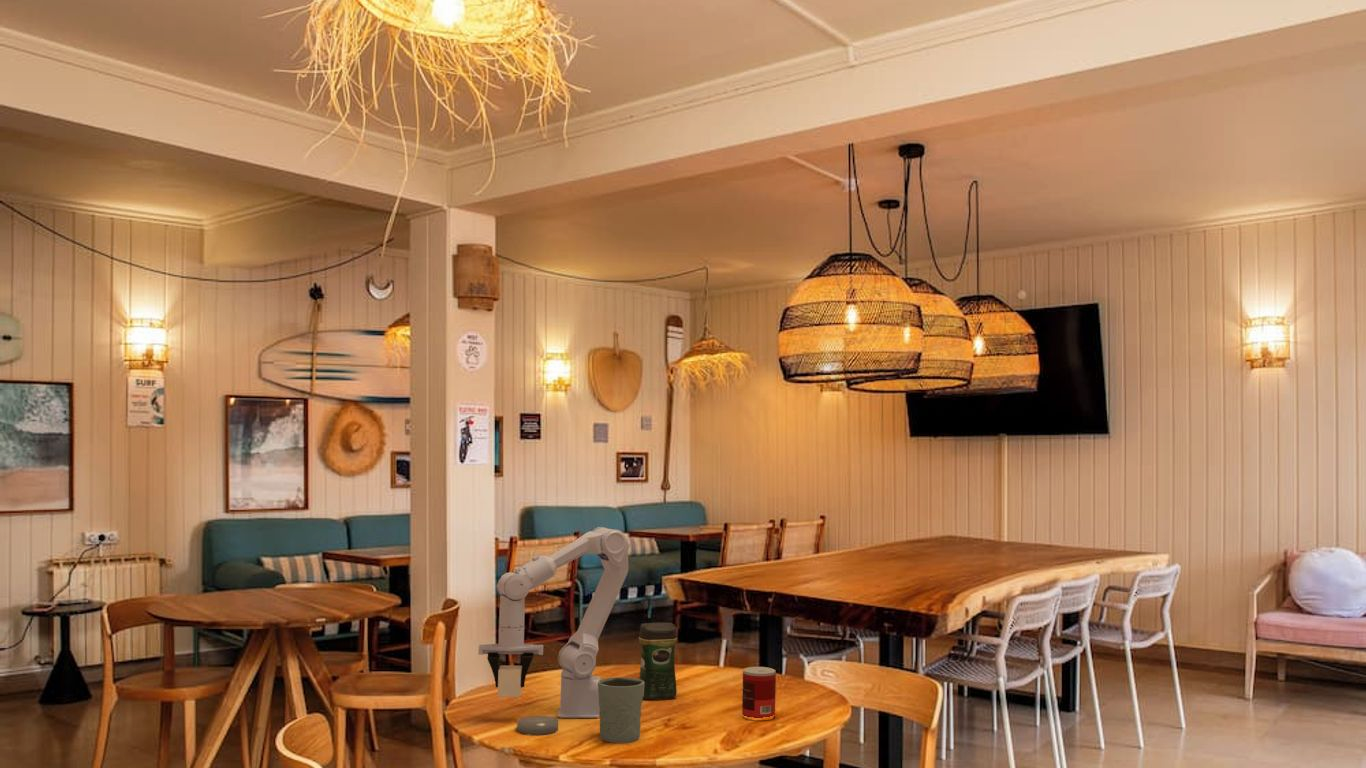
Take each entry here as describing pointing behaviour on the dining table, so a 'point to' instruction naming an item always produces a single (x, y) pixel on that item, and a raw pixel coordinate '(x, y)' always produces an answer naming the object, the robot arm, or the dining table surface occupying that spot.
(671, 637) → the coffee jar
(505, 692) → the cream block
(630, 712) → the green cup
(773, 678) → the canned food
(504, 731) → the dining table surface
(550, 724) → the slate trivet
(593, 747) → the dining table surface
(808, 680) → the dining table surface
